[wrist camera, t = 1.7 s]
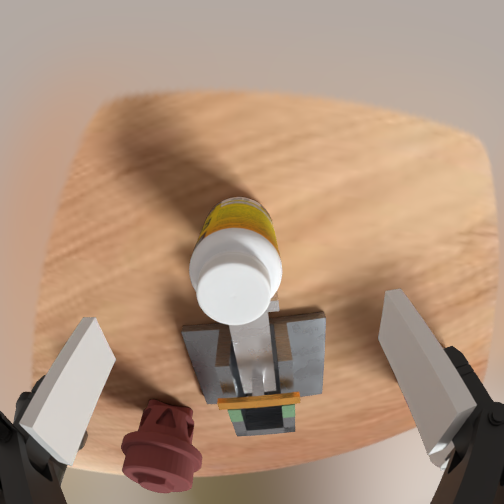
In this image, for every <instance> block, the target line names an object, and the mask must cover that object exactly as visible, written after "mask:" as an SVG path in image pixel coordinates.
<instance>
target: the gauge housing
mask: <svg viewBox="0 0 504 504" xmlns="http://www.w3.org/2000/svg"><path fill="white" fill-rule="evenodd" d="M269 325H270V334H271V343H272V352H273V361H274V371H275V382H276V391H267V392H264V394H265V395H273V394H282V393H291V392H299V393H300V397H303V396H310V395H317V394H322V386H323V371H324V353H325V329H326V317H325V314H324V312H317V313H310V314H302V315H294V316H286V317H277V318H269ZM181 333H182V336H183V339H184V342H185V345H186V348H187V350H188V353H189V356H190V359H191V362H192V365H193V368H194V370H195V373H196V376H197V379H198V381H199V384H200V387H201V389H202V392H203V394H204V397H205V400H206V402H207V404H217V401H218V398H235V397H250V396H252V393H244V391H243V387H242V382H241V378H240V374H239V369H238V365H237V360H236V356H235V351H234V346H233V342H232V337H231V332H230V328H229V325H227V324H223V323H215V324H202V325H187V326H183V328H182V331H181ZM228 413H229V416H230V419H231V422H232V423H233V426H234V429H235V432H236V435H237V436H253V435H266V434H277V433H287V432H295V404H288V405H279V406H269V407H257V408H243V409H228Z"/></svg>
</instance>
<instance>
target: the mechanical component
mask: <svg viewBox="0 0 504 504" xmlns="http://www.w3.org/2000/svg"><path fill="white" fill-rule="evenodd" d="M192 415H193V410H192V409H190V408H188V407H177V406H172V405H168V404H165V403H162V402H160V401H158V400H155V399H151V400H149V403H148V407H147V408H146V409H145V410H144V411H143V415H142V418H141V422H140V426H139V429H138V431H135V432H131V433H128V434H127V435H125V436H124V438H123V442H122V445H121V449H122V451H123V453H124V454H125V455H126V457H125V460H124V464H123V468H122V471H123V473H124V474H125V475H126V476H127V477H128V478H130V479H131V480H133V481H135V482H136V483H139V484H140V485H141V486H142V487H143V488H146V489H148V490H151V491H154V492H158V493H170V492H182V491H187V490H189V489H191V487H192V483H193V473H194V472H196V471H198V470H199V469H200V468H201V464H202V455H201V453H200V452H199V451H198V450H197V449H196V448H195V447H194V446H193V445H191V444H192V437H193V429H194V421H193V419H192Z"/></svg>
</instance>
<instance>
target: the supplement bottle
mask: <svg viewBox="0 0 504 504" xmlns="http://www.w3.org/2000/svg"><path fill="white" fill-rule="evenodd" d="M189 274H190V280H191V283H192V285H193V287H194V289H195V291H196V295H197V300H198V303H199V305H200V307H201V309H202V310H203V311H204V313H205V314H206V315H208V316H209V317H210V318H212V319H213V320H215V321H217V322H220V323H223V324H227V325H242V324H246V323H249V322H252V321H254V320H256V319H257V318H259V317H260V316H261V315H262V314H263V313H264V312H265V311H266V309H267V308H268V306H269V303H270V300H271V298H272V297H273V296H274V294H275V293H276V291H277V289H278V287H279V285H280V282H281V278H282V264H281V259H280V255H279V250H278V245H277V241H276V236H275V231H274V227H273V223H272V220H271V217H270V215H269V213H268V212H267V210H266V209H265V208H264V207H263V206H262V205H261V204H259V203H258V202H256V201H254V200H252V199H249V198H244V197H233V198H229V199H226V200H224V201H222V202H220V203H218V204H217V205H216V206H215V207H214V208H213V209H212V210H211V211H210V213H209V215H208V217H207V219H206V221H205V224H204V226H203V228H202V231H201V234H200V236H199V239H198V241H197V244H196V246H195V249H194V251H193V254H192V257H191V261H190V266H189Z"/></svg>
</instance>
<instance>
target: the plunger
mask: <svg viewBox="0 0 504 504" xmlns="http://www.w3.org/2000/svg"><path fill="white" fill-rule="evenodd" d="M274 311H279V301H278V294H277V291H276V293H275V294H274V296H273V297H272V298H271V300H270V303H269V306H268V308H267V309H266V311H265V312H264V313H263V314H262V315H261V316H260V317H259V318H257V319H256V320H254V321H252V322H249V323H246V324H242V325H229V328H230V332H231V337H232V342H233V346H234V351H235V356H236V360H237V365H238V369H239V374H240V378H241V382H242V387H243V391H244V393H252V396H250V397H235V398H218V401H217V404H218V407H219V410H223V409H243V408H257V407H269V406H279V405H288V404H296V403H300V393H299V392H291V393H282V394H273V395H265V394H264V392H267V391H276V382H275V371H274V361H273V352H272V343H271V334H270V325H269V316H268V312H274Z"/></svg>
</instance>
